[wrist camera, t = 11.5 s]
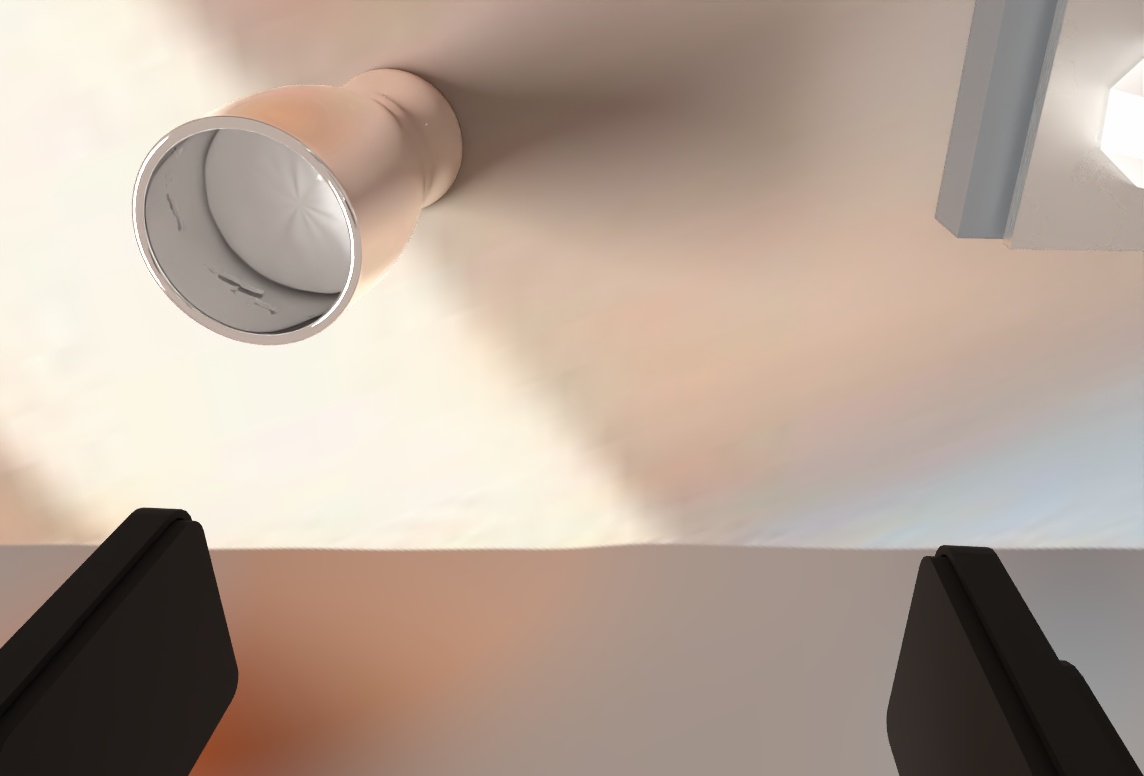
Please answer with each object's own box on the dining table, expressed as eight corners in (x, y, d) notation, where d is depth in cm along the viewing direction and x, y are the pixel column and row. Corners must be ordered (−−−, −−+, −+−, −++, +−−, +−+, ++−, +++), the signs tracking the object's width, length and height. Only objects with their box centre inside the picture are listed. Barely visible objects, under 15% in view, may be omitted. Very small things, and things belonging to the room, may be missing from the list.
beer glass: (455, 238, 38) (349, 380, 25) (307, 194, 38) (119, 314, 25) (489, 84, 35) (388, 152, 22) (328, 35, 35) (126, 73, 21)
